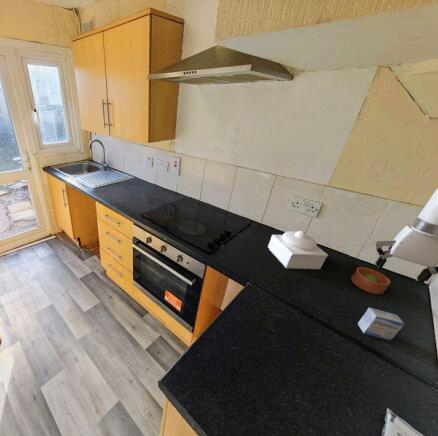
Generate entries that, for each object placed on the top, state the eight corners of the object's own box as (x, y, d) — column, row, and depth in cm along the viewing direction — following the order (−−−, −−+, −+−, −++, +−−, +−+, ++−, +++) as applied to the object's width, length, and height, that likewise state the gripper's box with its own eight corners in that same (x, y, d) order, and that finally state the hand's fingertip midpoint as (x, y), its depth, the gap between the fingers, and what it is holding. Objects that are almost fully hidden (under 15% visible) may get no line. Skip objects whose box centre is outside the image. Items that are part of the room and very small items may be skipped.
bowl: (377, 282, 104) (384, 272, 101) (387, 298, 95) (395, 288, 92) (347, 274, 108) (353, 264, 105) (354, 289, 99) (361, 278, 96)
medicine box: (362, 333, 79) (376, 316, 75) (356, 323, 82) (369, 306, 78) (390, 341, 77) (405, 324, 73) (383, 330, 80) (396, 313, 76)
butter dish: (297, 248, 126) (308, 223, 119) (320, 269, 110) (335, 242, 103) (267, 247, 125) (276, 222, 118) (286, 268, 109) (298, 241, 102)
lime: (371, 283, 102) (377, 274, 100) (375, 290, 98) (382, 281, 96) (358, 279, 104) (363, 271, 102) (361, 286, 100) (367, 277, 98)
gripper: (473, 233, 63) (433, 280, 70) (389, 214, 72) (362, 257, 79) (486, 244, 57) (441, 294, 65) (393, 222, 66) (364, 267, 74)
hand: (398, 274), depth 72 cm, fingers open, 9 cm apart
